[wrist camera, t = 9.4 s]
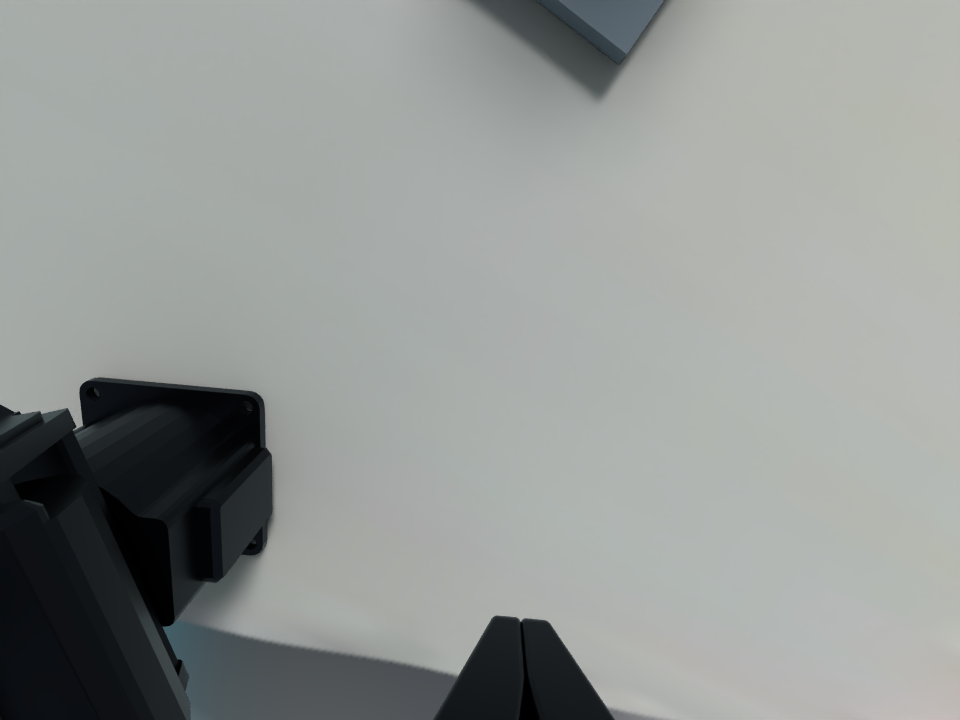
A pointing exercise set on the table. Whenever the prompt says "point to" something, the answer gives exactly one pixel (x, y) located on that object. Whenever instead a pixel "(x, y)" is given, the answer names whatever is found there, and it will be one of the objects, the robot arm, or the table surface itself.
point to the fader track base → (606, 21)
